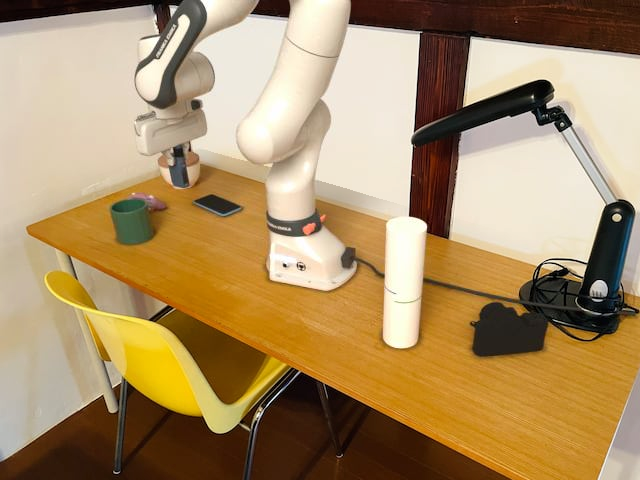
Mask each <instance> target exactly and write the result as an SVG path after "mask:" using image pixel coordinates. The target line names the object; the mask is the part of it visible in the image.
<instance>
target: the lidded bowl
mask: <svg viewBox="0 0 640 480" xmlns="http://www.w3.org/2000/svg"><path fill="white" fill-rule="evenodd" d="M171 153H174V152H173V151H171ZM171 153H170V154H171ZM187 156H188V159H187V160H185V162H186V167H187V172H188V178H189V183H190V186H189V187H187V188H180V187H177V186H174V185H173V183H172V181H171V176H170V171H169V166H168V163H167V158H166V157H165V156H164V155H163V154H162V155H160V156H159V157H158V158H157V164H158V168H159V171H160V174H161V176H162V179H163V180H164V181H165V182H166V183H167V184H168V185H170V186H171V188H173V189H176V190H185V189H189V188H192V187H195V184H196V183H197V181H198V180H199V178H200V174H201V162H200V155H199V154H198V153H197V152H194V151H189V150H188V153H187Z"/></svg>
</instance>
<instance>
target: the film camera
mask: <svg viewBox="0 0 640 480" xmlns="http://www.w3.org/2000/svg"><path fill="white" fill-rule="evenodd" d="M478 316H479V317H478V318H479V319H478V320H477V321H476V320H471V321H470V322H469V326H471V327H473V328H474V334H473V340H472V347H471V350H472V352H473V354H474V355H475V356H477V357H479V358H482V357H484V358H486V357H496V356H497V357H498V356H506V355H507V356H509V355H517V354H527V353H535V352H540V351H542V350H543V348H544V343H545V340H546V335H547V331H548V328H549V323H550V321H549V319H548V317H546V316H545V314H544V313H541V312H538V313H536V312H535V310H533V309H531V310H530V311H529V312H528V311H527V312H522V313H521V315H520V314H518V311H517V310H516V309H515V308H514V307H512V306H505V305H504V304H503V303H502V302H499V301H491V302H490V303H487V304H485V305H484V306H482V308H480V311H479V313H478Z"/></svg>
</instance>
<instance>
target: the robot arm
mask: <svg viewBox="0 0 640 480" xmlns="http://www.w3.org/2000/svg"><path fill="white" fill-rule="evenodd" d="M259 1H260V0H182V1H181V3H180V4H179V5H178V6H177V8H176V9H175V11H174V12H173V14H172V15H171V17H170V18H169V20H168V22H167V24H166V26H165V28H164V29H163V31H162V33H158V34H153V35H147V36H142V37H141V38H140V39H138V40H137V49H136V50H137V51H136V52H137V59H138V61H137V62H138V64H137V66H136V68H135V71H134V81H133V82H134V87H135V90H136V93H137V94H138V96H139V97H140V98H141V99H142V100H143V102H145V103H146V106H147V110H148V112H147V113H145V114H140V115H137V118H136V119H135V120H134V122H133V128H134V140H135V146H136V151H137V153H138V154H140V155H142V156H145V157H152V156H155V155H158V154H160V153H161V154H162V155H164V156H165V157H166V158H167V163H168V165H171V166H173V165H175V164H177V161H176V158H175V157H172V155H171V154H170V153H171V152H172V149H173V147H176V146H178V145H181V144H182V148H183V149H182V150H183V153H184V158H185V160H187V159H188V156H187V153H188V151H189V149H190V142H191V141H194V140H197V139H199V138H202V137H204V136H206V135H207V133H208V122H207V118H206V114H205V112H204V110H203V107H204V102H203V100H202V99H200V98H199V97H201V96H203V95H206V94H207V93H210V92H211V91H212V89H213V88H214V86H215V83H216V73H215V69H214V66H213V64H212V62H211V60H209V58H208V57H207V56H206V55H205V54H203V53H202V52H199V51H195V50H194V49H195V48H196V47H197V46H198V45H199V44H200V43H201V42H203V41H204V40H205V39H207V38H208V37H210V36H212V35H214V34H217V33H218V32H220V31H224V30H225V29H228V28H231V27H234V26H236V25H238V24H241V23H242V22H243V21H245V20H246V19H247V17H249V15H251V13H252V12H253V11H254V9H255V8H256V7H257V5H258V3H259ZM288 1H289V5H290V11H289V15H288V19H287V23H286V26H285V30H284V34H283V37H282V39H281V44H280V47H279V51H278V54H277V58H276V61H275V64H274V67H273V70H272V72H271V75H270V77H269V78H268V80H267V82H266V84H265V86H264V88H263V89H262V90H261V93H260V95H259V97H258V98H257V100H256V102H255V104H254V105H253V106H252V108H251V110H250V111H249V112H248V113H247V114H246V116H245V117H244V118H243V119H242V120H240V122H239V123H238V124H237V126H236V129H235V140H236V145H237V148H238V150H239V152H240V153H241V155H242V156H243V157H244V159H246V160H247V161H248V162H250V163H251V164H254V165H256V166H257V165H258V166H263V165H269V164H270V165H271V167H270V169H269V170H268V172H267V174H266V177H265V180H264V181H265V182H264V183H265V184H264V186H265V195H266V206H267V209H266V212H265V214H266V216H265V217H266V220H265V221H266V226H267V229H268V251H267V257H266V262H265V266H266V269H267V270H268V272H269V280H270V281H273V282H277V283H283V284H287V285H293V286H299V287H303V288H304V287H305V288H309V289H314V290H318V291H319V290H320V291H325V292H329V291H332V290H335V289H337V288H340V287H341V286H342V285H345V284H346V283H347V282H348V281H349V280H351V278H352V277H353V276H354V275H355V273H356V272H357V269H358V263H361V264H363V265H365V266H367V267H369V268H370V269H371V270H372V271H373V273H375V275H377V276H379V277H380V278H384V279H385V273H384V274H383V273H381V272H380V271H378V270H377V268H376V267H375V266H374V265H373V264H372V263H370V262H368V261H366V260H364V259H361V258H358V257H356V256H357V255H356V253H357V252H356V247H351V246H347V247H346V246H345V243H344V242H342V241H341V240H340V239H339V238H338V237H337V236H336V235H335V234H333V233H332V232H331V231H330V230H329V229H328V228H327V227H326V226H325V225H324V224H323V222H324V221H325V220H326V216H327V214H323V215H322V216H321V215H320V213H319V210H318V208H317V207H316V174H317V168H318V163H319V157H320V154H321V150H322V145H323V142H324V140H325V137H326V135H327V133H328V132H329V130H330V128H331V124H332V115H331V111H330V108H329V106H328V105H327V103H326V102H325V101H324V100H323V99H322V98H323V97H324V96H325V94H326V92H327V91H328V89H329V86H330V84H331V80H332V79H333V75H334V73H335V70H336V67H337V63H338V61H339V58H340V55H341V52H342V49H343V46H344V44H345V40H346V35H347V31H348V26H349V22H350V17H351V9H352V8H351V7H352V2H351V0H288ZM423 282H426V283H431V284H434V285H437V286H441V287H445V288H448V289H452V290H457V291H462V292H465V293H469V294H473V295H477V296H482V297H486V298H489V299H495V300H499V301H505V302H509V303H515V304H522V305H526V306H533V307H540V308H548V309H557V310H565V311H574V312H585V311H584V310H582V309H581V308H582V307H578V306H577V307H576V306H565V305H559V304H549V303H543V302H542V303H541V302H535V301H529V300H522V299H516V298H510V297H505V296H501V295H495V294H491V293H488V292H487V293H486V292H482V291H478V290H474V289H470V288H465V287H461V286H457V285H453V284H450V283H446V282H442V281H438V280H434V279H431V278H427V277H423ZM617 311H618V312H617V313H615V314H614V315H620V316H622V315H623V316H632V317H633V316H636V315H637V312H635V311H624V310H623V311H622V310H617Z"/></svg>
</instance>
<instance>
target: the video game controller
mask: <svg viewBox="0 0 640 480" xmlns="http://www.w3.org/2000/svg"><path fill="white" fill-rule="evenodd" d="M131 198H138V199H143V200H146V201H147V203H148V207H149V211H150V213H153V212H154V211H155V210H162V211H163V210H165V209H166V208H167V203H166V202H165V201H164V200H161V199H159V198H157V197H155V196H154V195H152V194H148V193H145V192H137V193H135V192H132V193H131V194H130V195H129V196H128V197H127V199H131Z"/></svg>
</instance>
